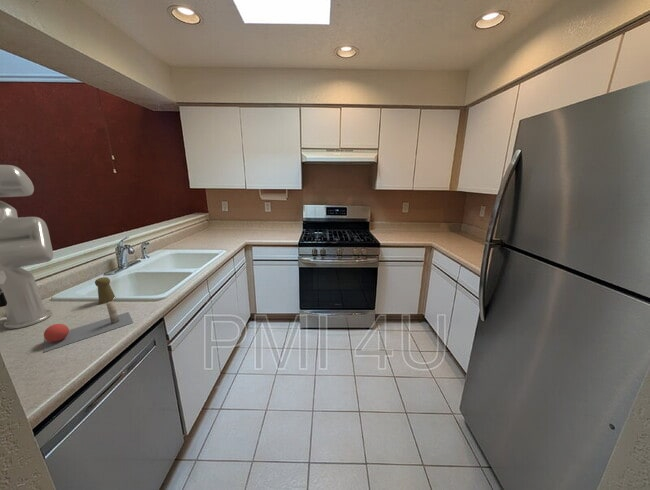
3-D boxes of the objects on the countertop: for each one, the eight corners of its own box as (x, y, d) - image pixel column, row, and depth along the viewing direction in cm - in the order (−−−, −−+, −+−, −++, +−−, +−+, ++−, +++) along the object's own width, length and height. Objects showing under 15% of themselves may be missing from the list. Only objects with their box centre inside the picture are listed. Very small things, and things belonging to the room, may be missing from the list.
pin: (109, 324, 98) (104, 304, 96) (114, 320, 101) (109, 301, 98) (116, 324, 98) (110, 304, 96) (120, 320, 101) (115, 301, 98)
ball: (41, 345, 86) (35, 330, 84) (59, 335, 92) (54, 320, 90) (59, 345, 86) (53, 330, 84) (75, 334, 92) (71, 320, 90)
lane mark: (43, 352, 83) (43, 352, 83) (45, 337, 90) (45, 337, 90) (133, 322, 99) (133, 322, 99) (128, 312, 107) (128, 311, 107)
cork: (119, 297, 120) (113, 275, 117) (109, 303, 114) (103, 280, 111) (106, 297, 120) (100, 275, 117) (95, 303, 114) (88, 281, 111)
